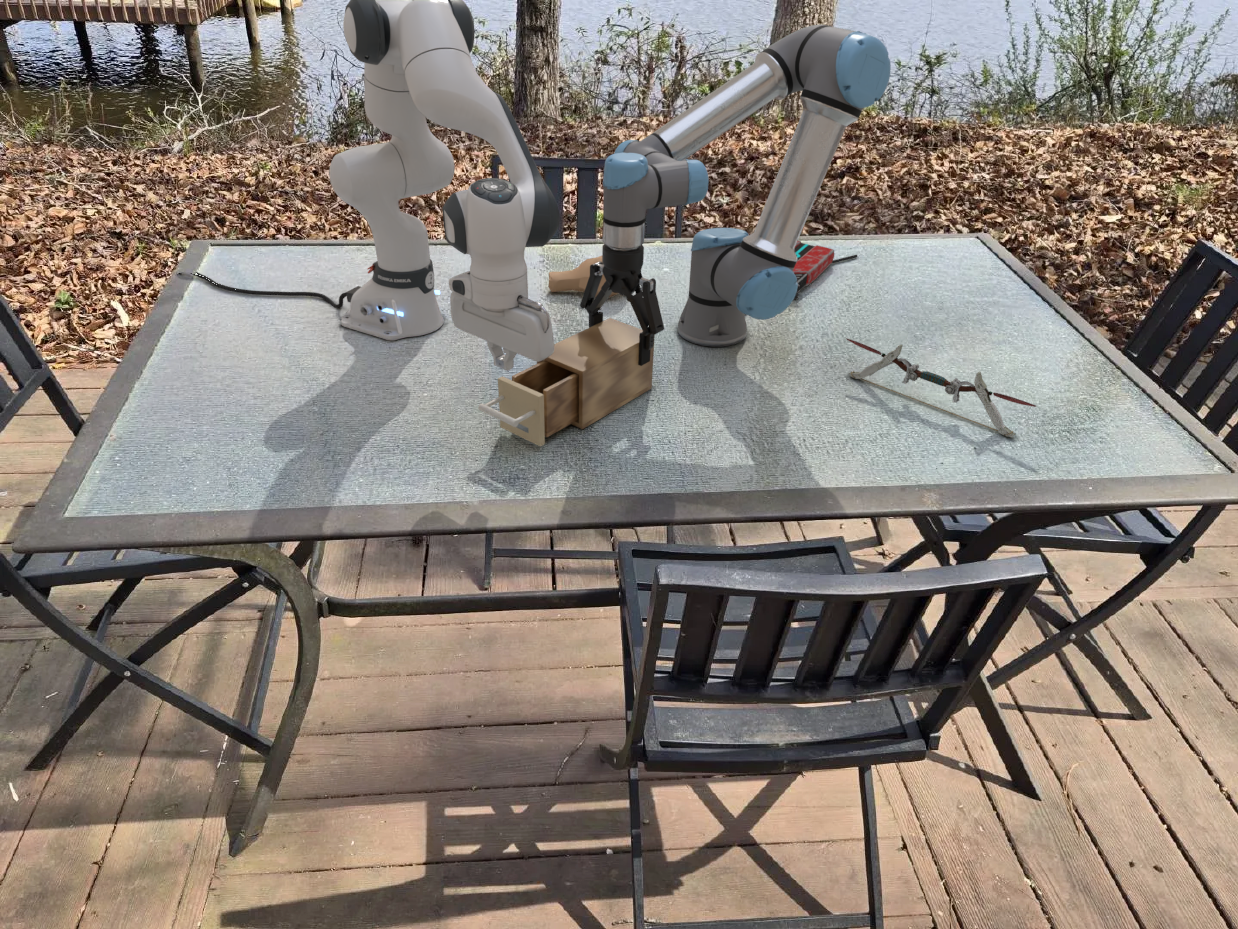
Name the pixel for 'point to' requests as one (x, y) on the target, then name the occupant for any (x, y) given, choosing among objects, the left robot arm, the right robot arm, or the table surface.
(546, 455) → the table surface
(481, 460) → the table surface
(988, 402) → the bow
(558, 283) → the squash
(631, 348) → the cabinet
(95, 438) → the table surface
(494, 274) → the left robot arm
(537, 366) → the drawer
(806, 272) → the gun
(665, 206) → the right robot arm
